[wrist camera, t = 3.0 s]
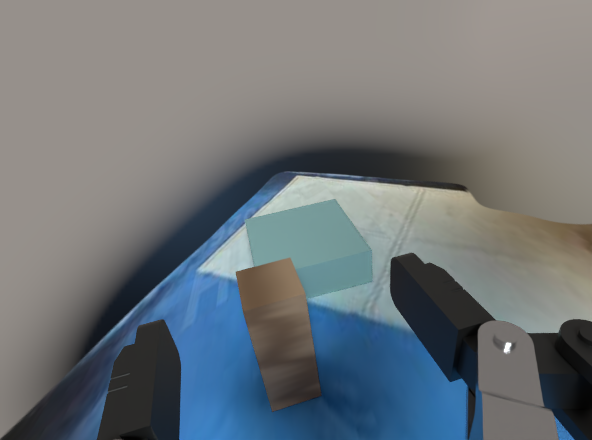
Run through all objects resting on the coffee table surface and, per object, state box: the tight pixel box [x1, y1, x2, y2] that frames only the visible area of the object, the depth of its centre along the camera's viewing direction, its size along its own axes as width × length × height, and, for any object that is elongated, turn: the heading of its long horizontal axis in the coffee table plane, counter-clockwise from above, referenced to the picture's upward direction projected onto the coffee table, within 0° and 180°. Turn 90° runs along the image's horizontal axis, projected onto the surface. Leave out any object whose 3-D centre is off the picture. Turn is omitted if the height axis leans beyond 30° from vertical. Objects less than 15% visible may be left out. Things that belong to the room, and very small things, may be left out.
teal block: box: [245, 199, 372, 299], centre depth 46 cm, size 13×13×5 cm
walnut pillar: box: [236, 258, 322, 412], centre depth 29 cm, size 4×4×12 cm
